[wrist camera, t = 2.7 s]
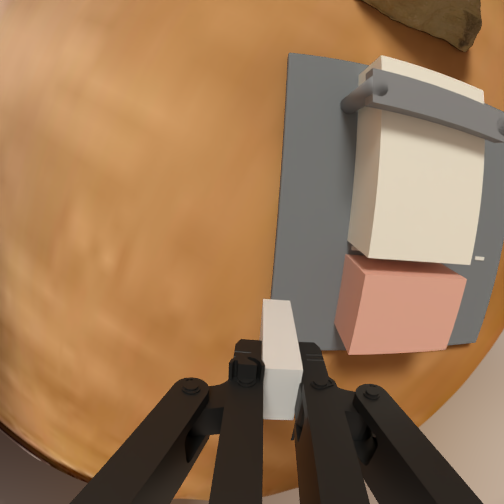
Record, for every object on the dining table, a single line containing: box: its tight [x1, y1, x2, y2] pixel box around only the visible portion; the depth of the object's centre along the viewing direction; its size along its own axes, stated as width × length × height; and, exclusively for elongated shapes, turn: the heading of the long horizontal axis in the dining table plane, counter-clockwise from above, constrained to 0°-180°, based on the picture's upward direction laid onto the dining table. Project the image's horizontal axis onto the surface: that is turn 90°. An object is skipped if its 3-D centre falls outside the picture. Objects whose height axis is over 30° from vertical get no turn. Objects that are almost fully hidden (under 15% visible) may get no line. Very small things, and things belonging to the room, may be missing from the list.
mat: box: [271, 53, 504, 350], centre depth 21 cm, size 21×22×1 cm
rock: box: [363, 0, 482, 52], centre depth 14 cm, size 11×9×10 cm
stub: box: [334, 254, 467, 355], centre depth 20 cm, size 8×6×4 cm
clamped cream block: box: [340, 55, 504, 265], centre depth 17 cm, size 11×12×6 cm
